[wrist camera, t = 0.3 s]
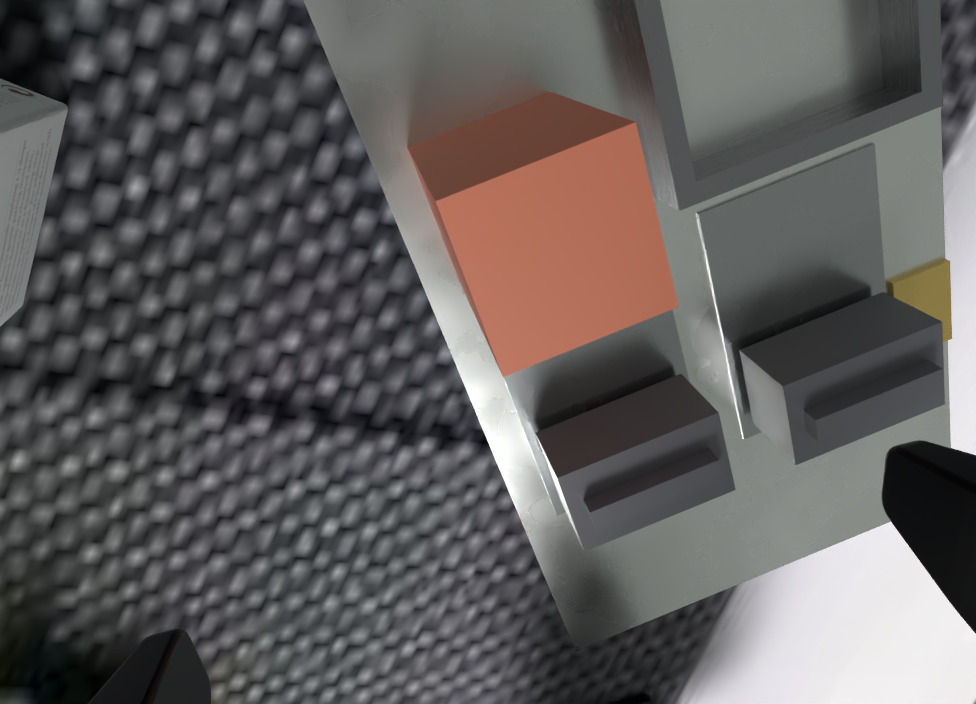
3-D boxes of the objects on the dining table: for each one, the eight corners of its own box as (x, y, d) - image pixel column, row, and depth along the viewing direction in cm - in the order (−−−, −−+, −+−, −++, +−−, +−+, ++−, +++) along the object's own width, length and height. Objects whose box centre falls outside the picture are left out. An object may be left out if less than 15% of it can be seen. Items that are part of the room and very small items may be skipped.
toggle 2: (889, 368, 24) (960, 413, 21) (753, 424, 24) (807, 476, 21) (883, 291, 23) (958, 329, 20) (739, 350, 23) (795, 396, 20)
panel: (924, 474, 29) (982, 519, 27) (564, 621, 29) (587, 683, 26) (887, -226, 18) (981, -267, 16) (305, 0, 18) (299, -3, 15)
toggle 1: (698, 446, 24) (745, 501, 21) (561, 501, 24) (590, 565, 21) (681, 373, 23) (729, 423, 20) (535, 432, 22) (563, 490, 20)
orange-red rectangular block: (589, 230, 20) (678, 306, 15) (459, 282, 20) (503, 377, 15) (549, 91, 19) (635, 121, 13) (407, 148, 18) (435, 201, 13)
